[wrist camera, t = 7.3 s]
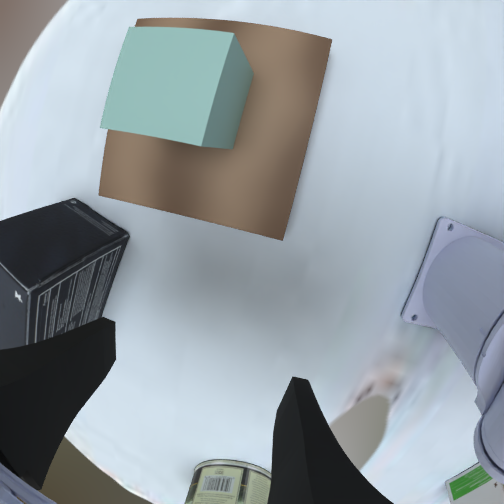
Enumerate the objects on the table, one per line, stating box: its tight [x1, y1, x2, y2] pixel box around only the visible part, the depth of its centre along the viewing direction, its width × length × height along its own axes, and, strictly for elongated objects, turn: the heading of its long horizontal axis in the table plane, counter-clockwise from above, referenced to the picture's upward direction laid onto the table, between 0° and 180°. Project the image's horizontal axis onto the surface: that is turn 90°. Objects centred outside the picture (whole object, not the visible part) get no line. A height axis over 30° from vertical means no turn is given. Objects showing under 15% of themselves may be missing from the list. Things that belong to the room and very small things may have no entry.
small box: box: [0, 198, 129, 350], centre depth 18 cm, size 11×6×10 cm, turn 150°
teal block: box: [100, 27, 254, 149], centre depth 12 cm, size 4×4×6 cm
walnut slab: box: [99, 18, 332, 241], centre depth 17 cm, size 12×12×2 cm
